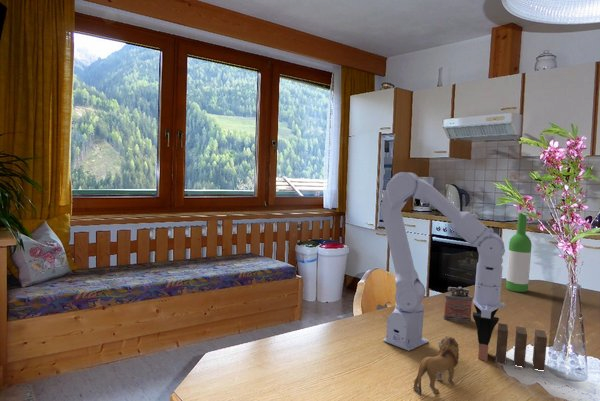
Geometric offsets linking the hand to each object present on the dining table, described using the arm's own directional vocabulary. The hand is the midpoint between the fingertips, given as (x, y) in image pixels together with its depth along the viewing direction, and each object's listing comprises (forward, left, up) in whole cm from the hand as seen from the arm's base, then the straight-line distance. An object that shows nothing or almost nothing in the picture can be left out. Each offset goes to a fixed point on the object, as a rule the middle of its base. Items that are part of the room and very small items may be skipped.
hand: (483, 338), depth 107 cm
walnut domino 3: (+5, -11, -4) cm, 13 cm away
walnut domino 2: (+3, -7, -5) cm, 9 cm away
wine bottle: (+72, +19, -5) cm, 74 cm away
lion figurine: (-22, 0, -5) cm, 23 cm away
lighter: (+20, +17, -5) cm, 26 cm away
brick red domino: (0, 0, -5) cm, 4 cm away
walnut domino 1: (+2, -4, -4) cm, 6 cm away
